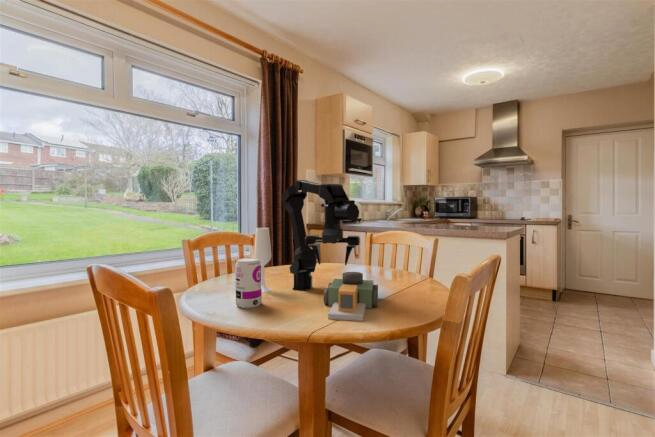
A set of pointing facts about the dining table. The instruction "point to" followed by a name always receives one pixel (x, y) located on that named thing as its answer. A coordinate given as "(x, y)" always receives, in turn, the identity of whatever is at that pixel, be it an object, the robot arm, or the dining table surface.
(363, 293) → the green wheeled block
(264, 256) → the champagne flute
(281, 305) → the dining table surface
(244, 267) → the supplement can
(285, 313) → the dining table surface
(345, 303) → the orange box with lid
